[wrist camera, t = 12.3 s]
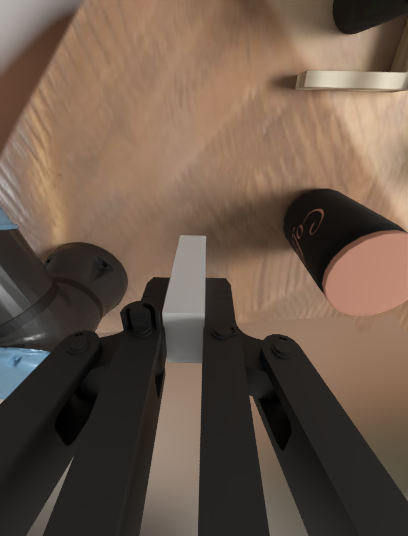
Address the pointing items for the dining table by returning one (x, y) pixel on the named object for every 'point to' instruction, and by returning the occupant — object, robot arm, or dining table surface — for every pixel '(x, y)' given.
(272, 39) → the dining table surface
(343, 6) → the cup
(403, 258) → the coffee jar
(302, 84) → the bay
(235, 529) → the robot arm
